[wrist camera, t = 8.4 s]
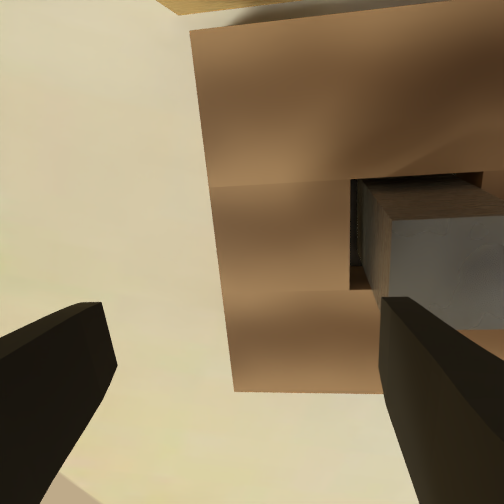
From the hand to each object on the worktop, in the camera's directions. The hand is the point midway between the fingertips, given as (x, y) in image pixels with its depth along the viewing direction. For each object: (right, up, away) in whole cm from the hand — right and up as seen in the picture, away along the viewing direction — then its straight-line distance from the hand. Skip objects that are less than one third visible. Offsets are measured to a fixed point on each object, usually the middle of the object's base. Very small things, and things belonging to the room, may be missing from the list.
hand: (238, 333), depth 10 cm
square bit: (+7, +4, +8) cm, 11 cm away
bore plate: (+7, +4, +8) cm, 11 cm away
